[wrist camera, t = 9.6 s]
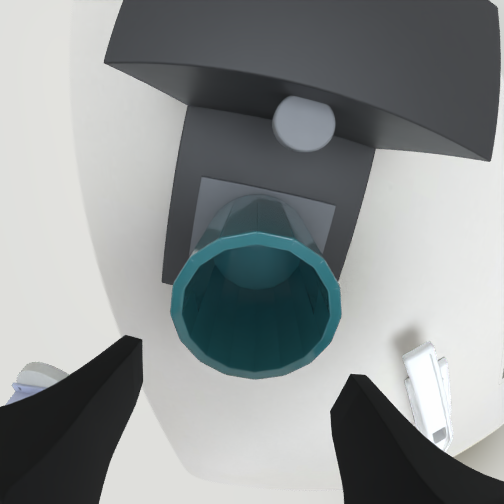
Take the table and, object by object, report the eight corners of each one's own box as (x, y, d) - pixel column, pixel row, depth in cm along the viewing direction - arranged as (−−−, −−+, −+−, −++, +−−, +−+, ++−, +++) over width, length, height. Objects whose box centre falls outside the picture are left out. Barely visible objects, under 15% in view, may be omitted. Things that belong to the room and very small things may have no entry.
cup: (218, 298, 17) (197, 385, 10) (195, 204, 15) (148, 250, 9) (313, 282, 17) (343, 365, 10) (300, 185, 15) (334, 218, 8)
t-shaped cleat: (436, 310, 19) (474, 354, 13) (449, 430, 24) (466, 462, 19) (390, 337, 19) (420, 388, 14) (420, 446, 25) (434, 480, 20)
